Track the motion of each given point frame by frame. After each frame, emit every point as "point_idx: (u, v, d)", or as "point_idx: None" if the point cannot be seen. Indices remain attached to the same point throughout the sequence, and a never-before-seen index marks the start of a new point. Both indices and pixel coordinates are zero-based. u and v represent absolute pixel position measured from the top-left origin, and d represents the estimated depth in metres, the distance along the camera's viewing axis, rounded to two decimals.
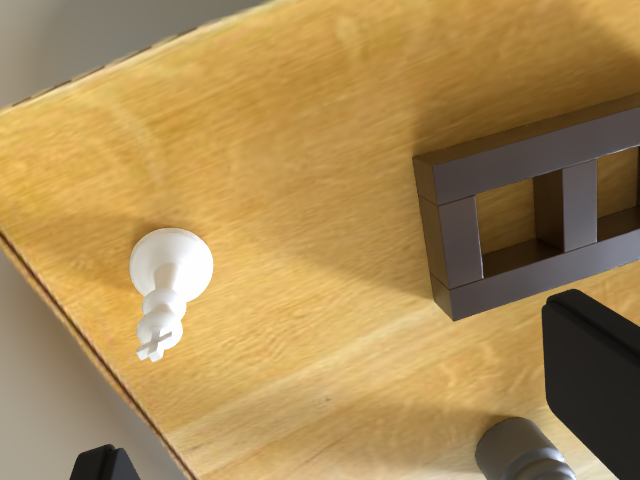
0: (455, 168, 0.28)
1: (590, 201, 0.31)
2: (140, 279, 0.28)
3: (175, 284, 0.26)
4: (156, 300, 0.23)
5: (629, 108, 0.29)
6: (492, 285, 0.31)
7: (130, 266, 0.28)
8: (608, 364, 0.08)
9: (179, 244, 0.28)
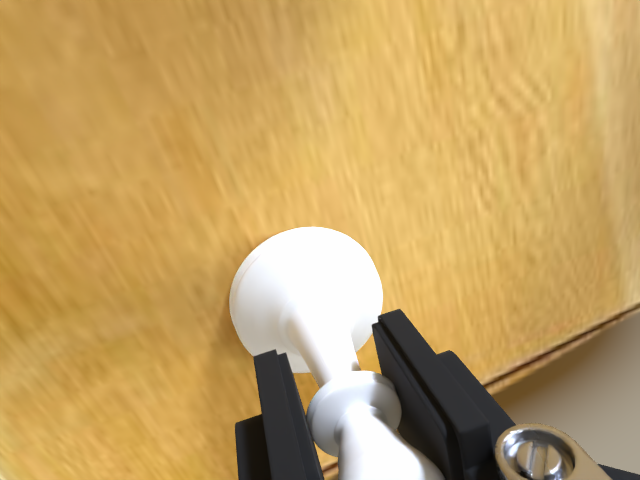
0: None
1: None
2: None
3: (318, 350, 0.12)
4: (332, 438, 0.10)
5: None
6: None
7: (297, 372, 0.15)
8: (402, 381, 0.09)
9: (256, 299, 0.14)
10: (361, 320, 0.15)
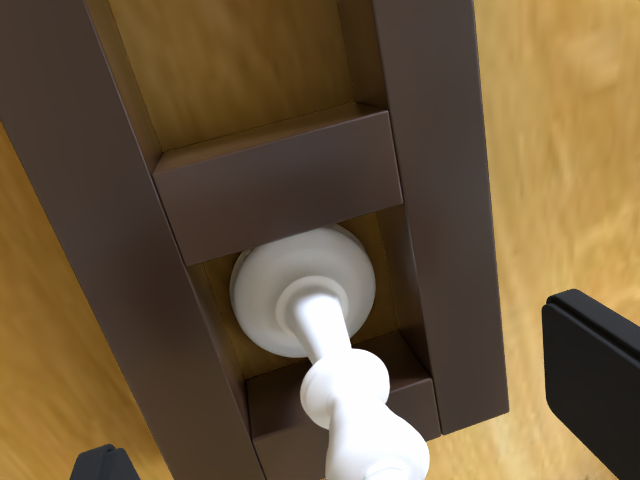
0: None
1: (272, 162, 0.11)
2: None
3: (312, 332, 0.12)
4: (324, 411, 0.11)
5: None
6: (451, 357, 0.15)
7: (294, 356, 0.16)
8: (608, 364, 0.08)
9: (255, 285, 0.15)
10: (355, 307, 0.16)
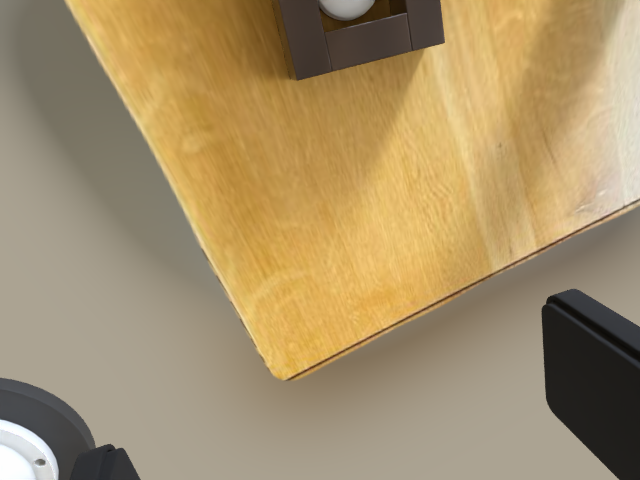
0: (299, 57, 0.31)
1: None
2: (352, 8, 0.33)
3: None
4: None
5: None
6: (415, 1, 0.32)
7: (341, 16, 0.33)
8: (608, 364, 0.08)
9: None
10: None
